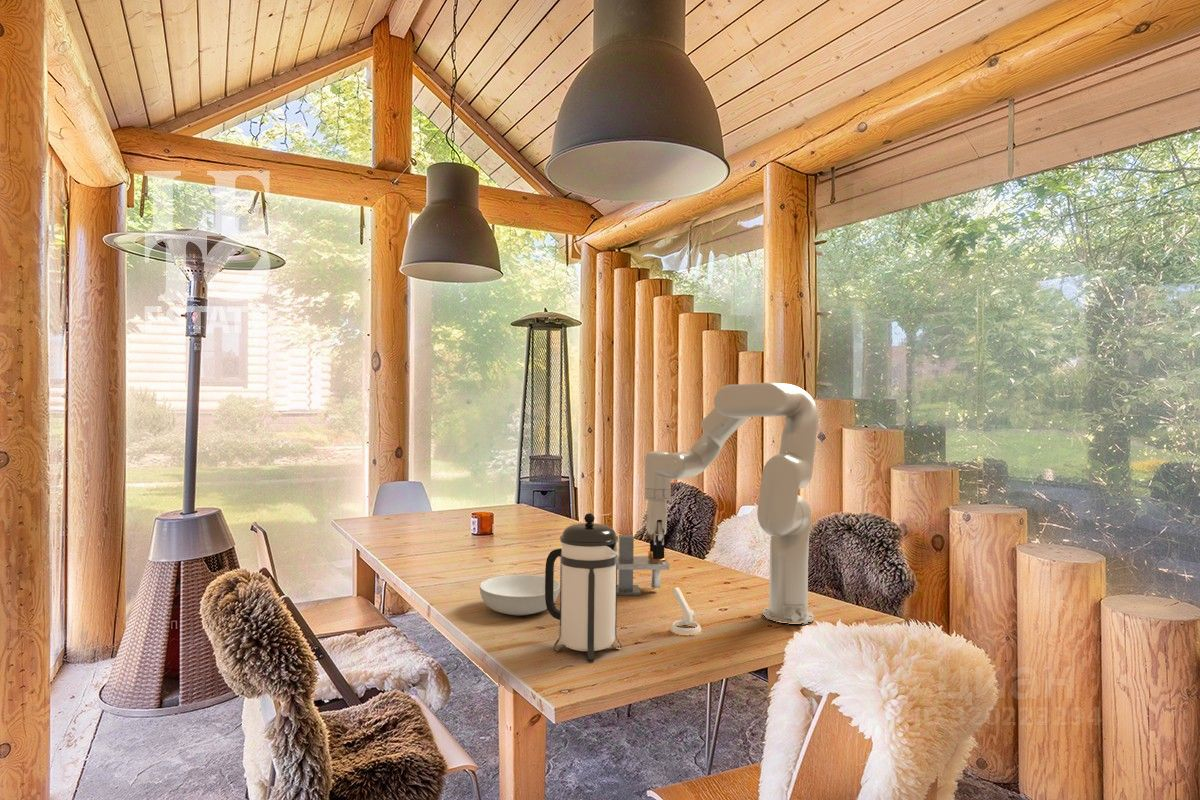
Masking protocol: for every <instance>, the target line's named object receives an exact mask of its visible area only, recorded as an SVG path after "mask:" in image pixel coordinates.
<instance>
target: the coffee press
mask: <svg viewBox="0 0 1200 800" xmlns="http://www.w3.org/2000/svg"><path fill="white" fill-rule="evenodd" d="M583 519H584V521H585V522H582V523H575V524H572V525H570V526H567V527H566V528H564V529H563V531H562V534H561V535H560V536H559V541H560V543H561V548H556V549H553V550H551V551H550V552H549V553H548V555H547V558H546V562H545V571H544V572H545V573H544V574H545V575H544V577H545V602H546V606H547V609H546V610H547V612H548V613H549V614H550V615H551V617H552V618H555V619H556V620H559V628H560V630H558V631H559V632H558V633H559V634H558V638H557V640H556V641H555V642H554V644H553V649H554V651H555V652H560V651H562V649H564V648H565V647H566V648H569V649H571V650H574V651H578V652H586V657H587V662H588V661H589V662H595V652H596V651H602V650H605V649H607V648H609V647H611V646H612V647H613V648H614V649H615V647H616V646H615V645H614V644H613V643H614V642H615V641H617V642H618V644H619V646H620V648H621V649H622V648H623V647H622V644H621V641H620V640H619V639H618V636H617V611H618V610H617V605H618V604H617V602H618V601H617V599H618V597H617V596H618V595H617V585H618V570H617V556H618V555H619V548H618V543H619V535H618V536H617V534H616V531H615V530H614V528H613V527H610V526H609V525H607V524H602V523H597V522H595V523H594V521H595V519H596V518H595V516H594V514H593V513H590V512H589V513H587V514H585V515H584V517H583ZM558 557H559V558H560V563H559V564H560V567H559V568H560V569H559V570H560V572H559V573H560V574H559V577H560V578H559V584H560V590H559V609H557V607H556V606H555V602H554V600H553V582H554V580H555V579H554V578H555V577H554V574H555V571H554V570H555V567H554V566H555V562H556V560H557V558H558ZM615 639H616V640H615ZM559 642H561V643H562V645H561V646H560V647H559V648H556V647H557V645H558V643H559Z"/></svg>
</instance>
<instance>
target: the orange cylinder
mask: <svg viewBox="0 0 1200 800" xmlns="http://www.w3.org/2000/svg"><path fill="white" fill-rule="evenodd" d="M647 552H648V553H647V556H648V559H652V562H661V560H666V559H667V552H666V551H664V559H653V551H650V550H648V551H647ZM661 571H662V570H651V580H650V583H651V584H650V588H652V589H659V588H661V578H662V577H661V576H662V572H661Z"/></svg>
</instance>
